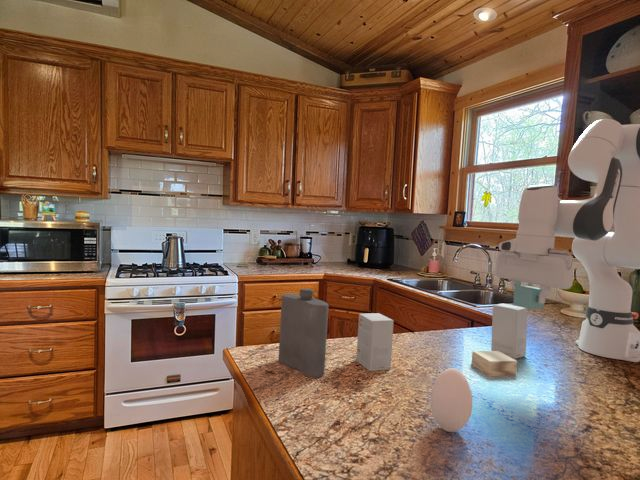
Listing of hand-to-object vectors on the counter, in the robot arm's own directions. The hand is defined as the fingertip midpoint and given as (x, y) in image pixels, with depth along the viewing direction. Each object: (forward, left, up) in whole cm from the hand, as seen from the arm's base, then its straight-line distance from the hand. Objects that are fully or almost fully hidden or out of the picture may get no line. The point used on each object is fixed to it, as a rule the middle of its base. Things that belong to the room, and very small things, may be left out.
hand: (528, 300), depth 104 cm
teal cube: (0, 0, -2) cm, 2 cm away
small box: (+35, -16, -20) cm, 44 cm away
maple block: (+4, -5, -20) cm, 21 cm away
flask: (+54, -19, -20) cm, 61 cm away
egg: (+38, +17, -20) cm, 47 cm away
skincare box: (-11, -14, -20) cm, 27 cm away
